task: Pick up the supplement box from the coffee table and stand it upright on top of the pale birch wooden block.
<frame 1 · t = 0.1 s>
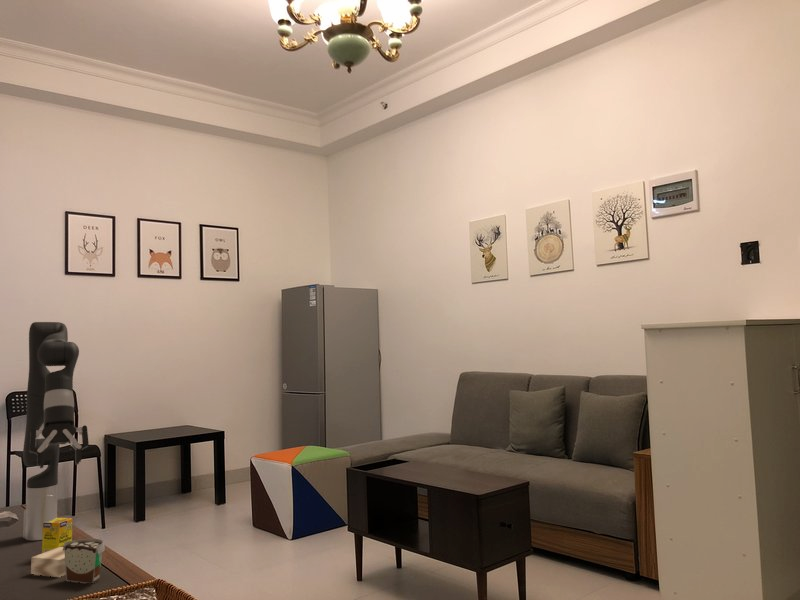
hand: (59, 465, 171), 31 cm above the table, tool tilted 20°, fingers open, 8 cm apart
food container: (88, 579, 173), on the table
birch block: (59, 571, 181), on the table
supplement box: (56, 557, 194), on the table
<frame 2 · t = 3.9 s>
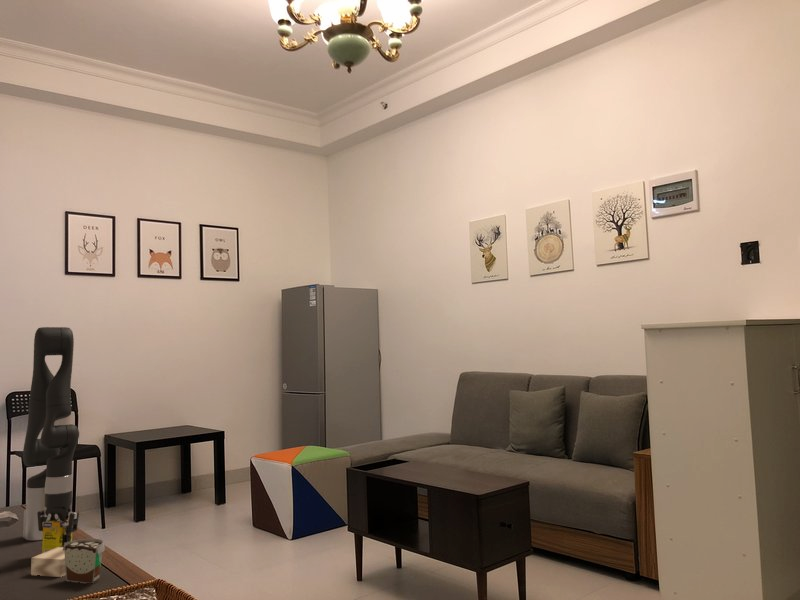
hand: (57, 545, 194), 3 cm above the table, tool pointing down, fingers closed on supplement box, 6 cm apart
supplement box: (57, 557, 194), on the table, touching gripper
everything else where it was.
when the fingers open (9 cm above the table, at t = 10.0 s): supplement box drops 2 cm, point 4 cm above the table.
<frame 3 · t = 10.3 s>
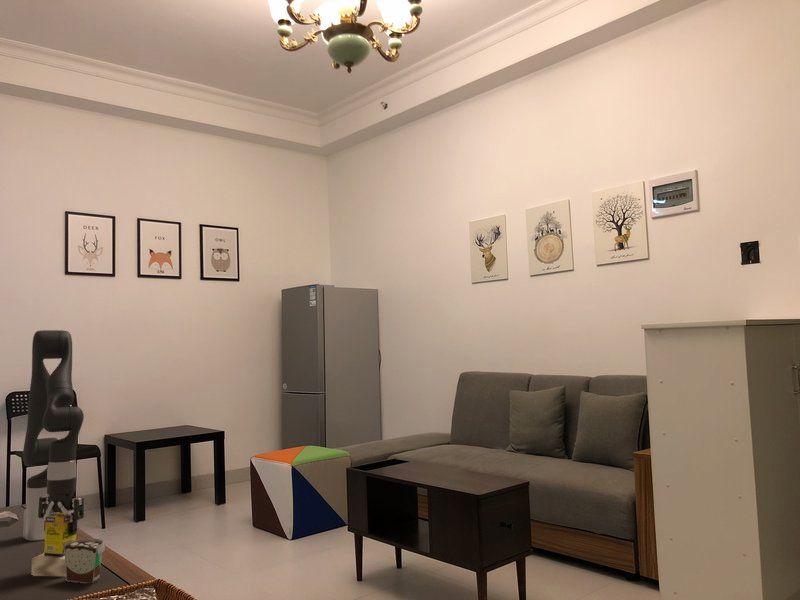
hand: (60, 534, 182), 10 cm above the table, tool pointing down, fingers open, 8 cm apart
supplement box: (60, 553, 182), point 4 cm above the table
everything else where it was.
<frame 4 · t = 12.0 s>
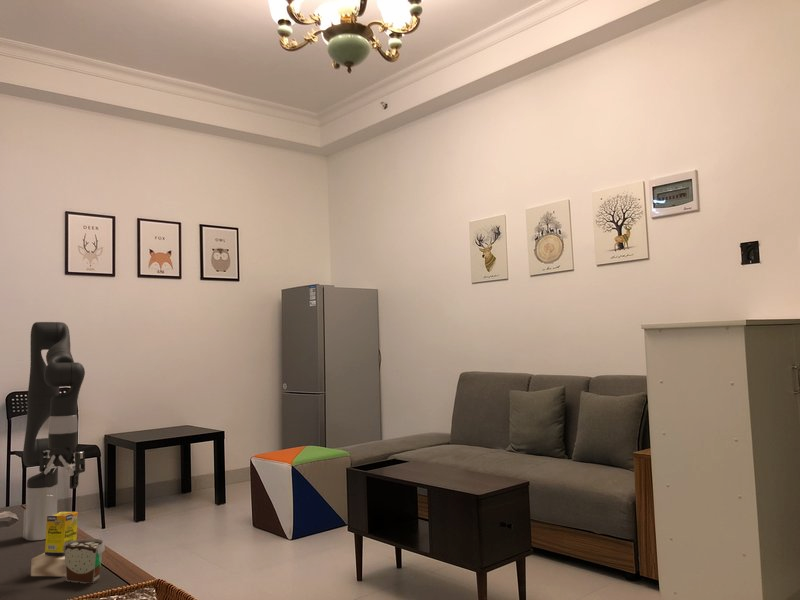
hand: (61, 487, 183), 23 cm above the table, tool pointing down, fingers open, 8 cm apart
nothing on the table moved.
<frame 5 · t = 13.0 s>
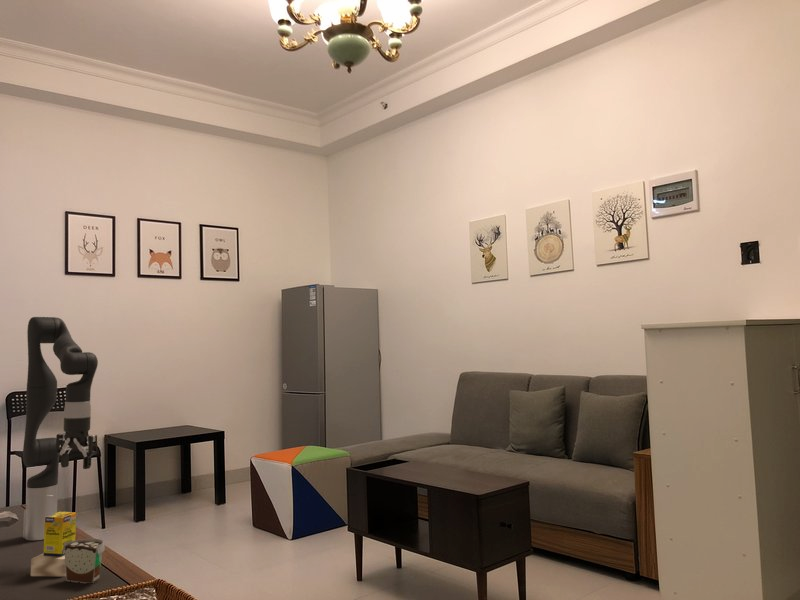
hand: (75, 467, 198), 26 cm above the table, tool pointing down, fingers open, 8 cm apart
birch block: (58, 571, 181), on the table, touching supplement box
supplement box: (59, 553, 182), point 5 cm above the table, touching birch block
everything else where it was.
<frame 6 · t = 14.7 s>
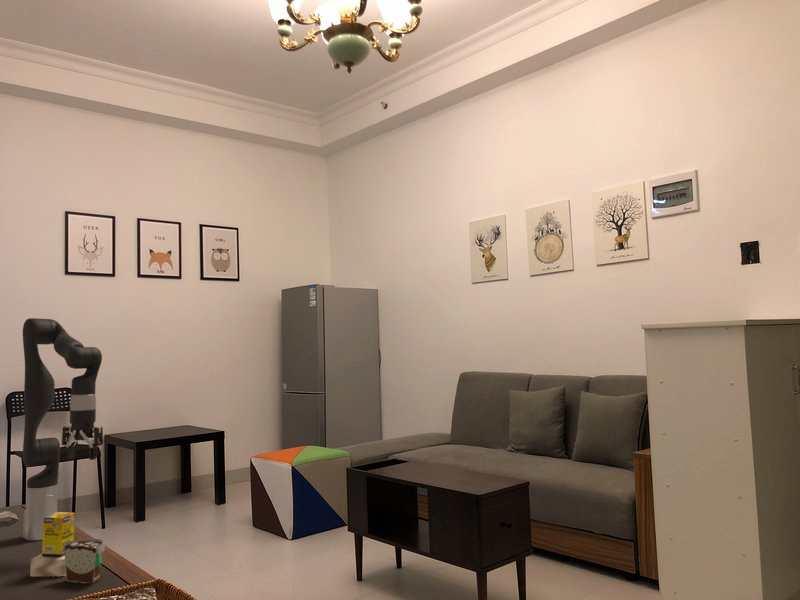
hand: (81, 459, 204), 28 cm above the table, tool pointing down, fingers open, 8 cm apart
birch block: (58, 571, 181), on the table
supplement box: (57, 554, 181), point 5 cm above the table
everything else where it was.
at the end: supplement box 0.3 cm off-centre on the birch block, point 4.9 cm above the birch block's base; supplement box tilted 1°; the gripper is holding nothing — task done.
